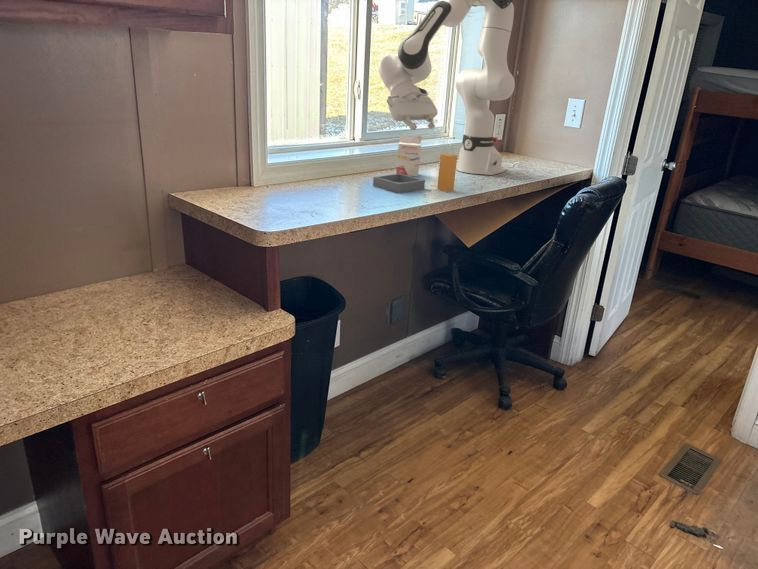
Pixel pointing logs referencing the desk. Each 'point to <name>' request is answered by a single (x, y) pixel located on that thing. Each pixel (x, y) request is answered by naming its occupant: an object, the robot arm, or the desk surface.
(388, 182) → the tray
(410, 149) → the ink cartridge box
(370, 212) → the desk surface
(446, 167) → the orange rectangular block
